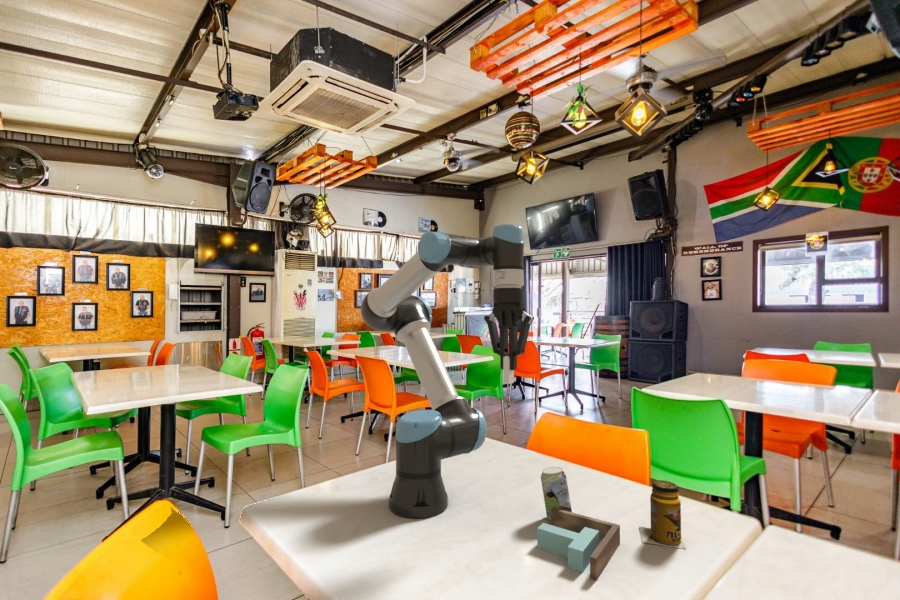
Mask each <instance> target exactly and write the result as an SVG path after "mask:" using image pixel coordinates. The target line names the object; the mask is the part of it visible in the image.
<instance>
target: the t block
mask: <svg viewBox="0 0 900 600" xmlns="http://www.w3.org/2000/svg"><path fill="white" fill-rule="evenodd" d="M536 530H537V533H536V534H537V535H536V536H537V539H536V540H537V541H536V542H537V548H538V549H542V550H545V551H547V552H551V553H554V554H557V555H560V556H563V557H566V558H567V568H569V569H571V570H573V571H574V570H575V571H578V572H581V573H584V572H585V571H586V569H587V568H588V566H590V556H591V555H592V553H593V552H594V551H595V549H596V548H597V546H598V545H599V544H600V541H599V531H598V530H594V529H591V528H587V527H584V528H583V530H582V531H581V532H580V533H576V532H573V531H569V530H566V529H563V528H559V527H556V526H552V524H549V523H545V522H542V523H541V524H540V525H539V526H538V527H537V529H536Z"/></svg>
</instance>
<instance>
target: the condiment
mask: <svg viewBox="0 0 900 600" xmlns="http://www.w3.org/2000/svg"><path fill="white" fill-rule="evenodd" d="M651 486H652V488H651V494H650V499H649V500H650V501H649V502H650V527H646V526H638V529H639V533H640V534H639V535H640V537H641V542H642V543H643V544H650V545H651V544H652V545H659V546H663V547H667V548H668V547H670V548H675V549H677V548H678V549H682V550H684V549H686V546H685V543H684V540H683V538H682V514H681V513H682V511H681V509H682V508H681V507H682V506H681V498H680V497H679V496H680V495H679V491H680V490H679V486H678V485H677V484H676V483H674V482H672V481H669V480H668V481H667V480H662V479H661V480H655V481H653V482H652V483H651Z"/></svg>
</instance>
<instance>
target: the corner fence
mask: <svg viewBox="0 0 900 600" xmlns="http://www.w3.org/2000/svg"><path fill="white" fill-rule="evenodd" d="M551 525H552V526H556V527H559V528H563V529H566V530H569V531H573V532H576V533H580V532H581V531H582V530H583V528H584V527H587V528H591V529H594V530H598V531H599V545H598V546H597V548H596V549H595V551H594V552H593V553H592V555H591V556H590V563H589V577H590V578H589V579H591V580H594V581H596V582H597V581H598V579H599V578H600V576H601V574H602V573H603V572H604V570H605V568H606V566H607V565H608V564H609V562H610V560H611V559H612V557H613V555H614V554H615V552H616V551H617V550H618V548H619V547H620V545H621V525H620V524H617V523H614V522H610V521H606V520H601V519H598V518H594V517H591V516H587V515H584V514H579V513H575V512H569V511H565V510H561V509H557V508H553V509H552V521H551Z"/></svg>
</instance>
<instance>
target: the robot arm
mask: <svg viewBox="0 0 900 600" xmlns="http://www.w3.org/2000/svg"><path fill="white" fill-rule="evenodd" d="M524 245H525V239H524V229H523V227H522V226H520V225H518V224H513V223H506V224H505V223H504V224H498V225H496V226H494V227H493V230H492V235H491V236H486V237H472V236H466V235H459V234H453V233H447V232H443V231H427V232H424V233H423V234H422V235H421V236H420V240H419V241H418V242H417V252H415V253H414V254H413V256H411V257H410V258H409V259H408V260H407V261H405V263H403V265H402V266H401V267H400V268H398V270H396V271H395V272H394V273H393V274H392V275H391V276H390V277H389V278H388V279H387V280H385V281H384V282H383V284H381V285H380V286H379V287H374V288H373V289H371V290H370V291H369V292H368V293H367V294H366V295H365V296H364V297H363V299H362V301H361V304H360V315H361V318H362V320H363V322H364V323H365V324H366V326H367V327H369V328H370V329H372V330H374V331H377V332H393V333H394V335H395V337H396V340H397V341H398V342H399V343H402V344H404V346H405V349H406V350H407V353H408V356H409V358H410V360H411V363H412V366H413V367H414V370H415V372H416V374H417V377H418V380H419V382H420V384H421V387H422V388H423V391H424V393H425V395H426V398H427V400H428V403H429V405H430V407H431V409H422V410H414V411H410V412H407V413H404V414H403V415H401V416H400V417H399V418H398V420H397V422H396V427H395V428H396V429H395V430H396V431H395V434H394V435H395V477H394V480H393V484H392V487H391V491H390V493H389V498H388V509H389V511H390V512H392V513H393V514H395V515H397V516H400V517H404V518H409V519H421V518H422V519H423V518H430V517H434V516H437V515H440V514H441V513H442V512H445V510H447V508H448V505H449V504H448V503H449V501H448V500H449V499H448V498H449V497H448V493H447V491H446V488H445V483H444V480H443V477H442V460H445V459H449V458H452V457H457V456H460V455H463V454H465V455H466V454H470V453H471V452H473V451H477V450H478V449H480V448H481V447H482V446H483V444H484V442H485V440H486V437H487V436H486V435H487V430H488V428H487V422H486V418H485V416H484V414H483V413H482V411H481V410H479V409H477V408H476V407H471V406H470V403H469V402H468V400H467V399H466V397H463V396H460V395H459V394H458V393H459V392H458V391H457V389H456V387H455V385H454V383H453V380H452V379H451V376H450V375H449V373H448V370H447V368H446V366H445V363H444V362H443V359H442V357H441V355H440V353H439V351H438V348H437V347H436V344H435V343H434V342H435V341H434V340H433V338H432V336H431V334H430V330H431V327H432V326H431V325H432V322H433V316H432V314H433V310H432V308H431V305H430V303H429V301H427V300H426V298H424V297H422V296H420V295H419V296H418V295H414V293H415V292H416V291H417V290H419V289H420V288H421V287H422V286H424V285H425V284H426V283H428V281H430V280H431V279H432V278H434V277H435V276H436V274H438V273H439V272H441V271H442V270H443V269H445V268H446V266H448V265H454V266H455V265H456V266H463V267H464V268H466V269H479V268H483V267H489V266H492V269H493V270H492V271H493V273H492V274H493V276H492V277H493V279H492V281H493V286H494V287H495V288H494V289H493V290H492V291H493V295H492V297H493V299H492V300H493V301H492V302H493V307H492V309H491V311H492V312H490V313H489V314H488V315H485V316H484V317H483V318H484V320H485V321H484V322H485V323H486V324H487V329H488V333H489V338H490V343H491V347H492V353H494V354H497V355H499V357H500V358H499V359H500V370H503V371H502V372H503V374H502V375H503V377H502V378H503V379H502V380H503V381H502V382H503V384H505V385H511V384H513V383H515V371H516V370H517V369H518V356H520V355H524V354H525V352H526V351H525V350H526V347H527V341H528V337H529V333H530V328H531V325H532V323H533V321H534V319H535V317H534V315H531V314H528V313H527V312H526V308H525V306H524V303H525V302H524V301H525V299H524V298H525V297H524V296H525V294H524V293H525V290H524V288H522V287H524V286H525V284H524V283H525V280H524V277H525V275H524V274H525V272H524V255H525V254H524V250H525V246H524ZM496 320H497V322H496ZM521 321H522V323H521V325H520V330H518V329H519V324H520V322H521ZM497 323H498V325H497ZM498 329H499V330H498ZM518 331H519V332H518ZM518 333H519V334H518Z"/></svg>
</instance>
